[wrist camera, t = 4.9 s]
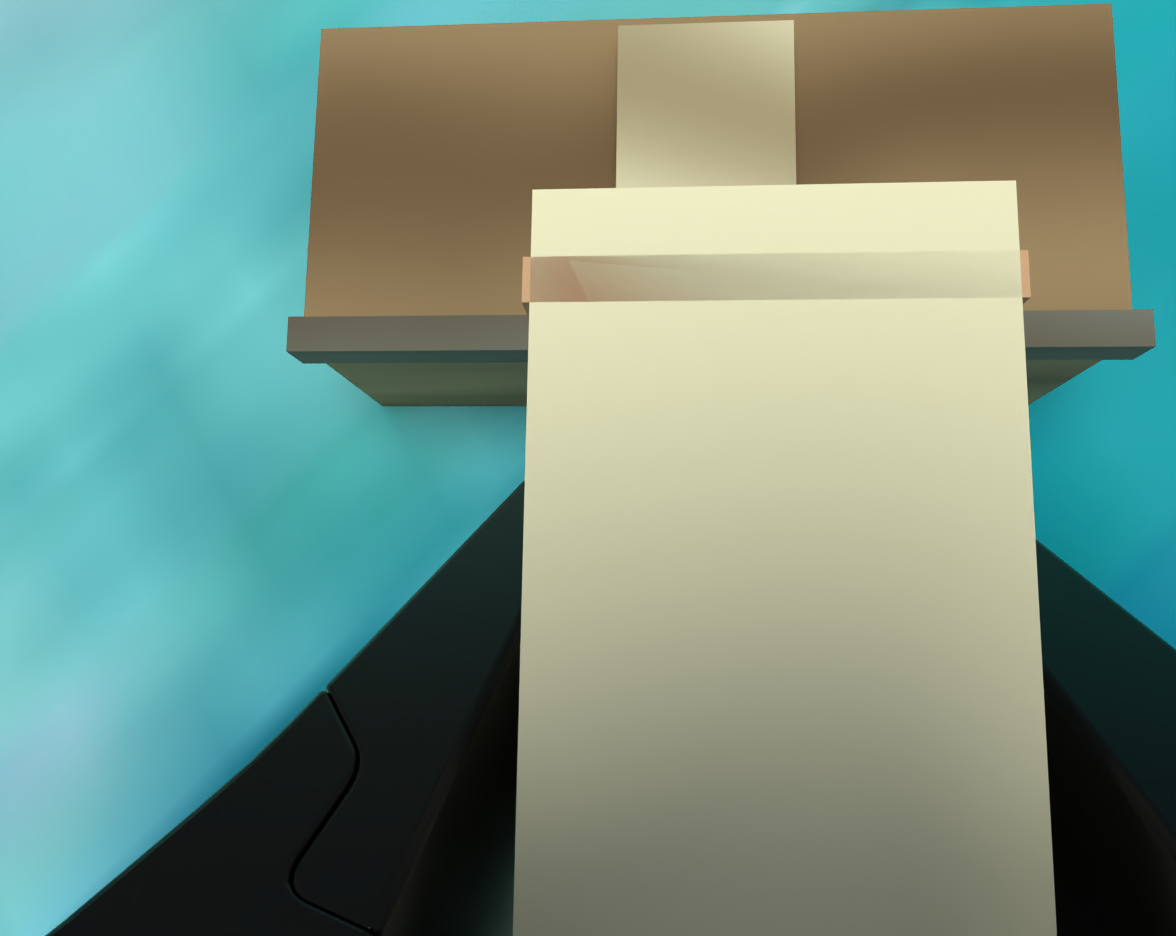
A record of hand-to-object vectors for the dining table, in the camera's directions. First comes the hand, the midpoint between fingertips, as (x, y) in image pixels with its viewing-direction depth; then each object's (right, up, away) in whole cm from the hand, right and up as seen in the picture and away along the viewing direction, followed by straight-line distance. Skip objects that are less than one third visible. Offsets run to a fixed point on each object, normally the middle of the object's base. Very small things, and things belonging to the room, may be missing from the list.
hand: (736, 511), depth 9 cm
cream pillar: (0, -2, +6) cm, 7 cm away
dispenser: (+1, +5, +13) cm, 14 cm away
